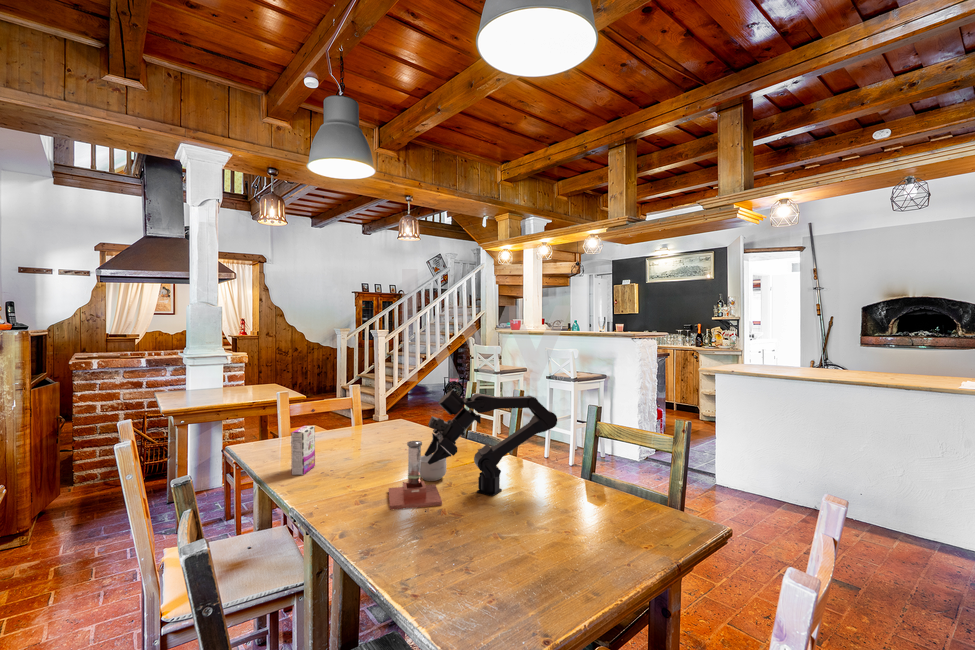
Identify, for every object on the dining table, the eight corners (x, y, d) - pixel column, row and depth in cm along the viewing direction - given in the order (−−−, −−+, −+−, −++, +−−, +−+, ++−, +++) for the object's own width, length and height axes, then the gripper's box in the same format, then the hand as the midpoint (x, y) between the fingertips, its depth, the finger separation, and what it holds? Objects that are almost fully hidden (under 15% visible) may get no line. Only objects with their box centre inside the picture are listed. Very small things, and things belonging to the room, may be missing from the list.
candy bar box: (303, 466, 182) (303, 425, 182) (315, 466, 182) (315, 425, 182) (290, 475, 170) (290, 431, 171) (303, 475, 170) (303, 432, 170)
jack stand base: (435, 487, 158) (435, 475, 158) (441, 505, 143) (442, 491, 143) (388, 491, 154) (388, 479, 154) (390, 509, 139) (390, 496, 139)
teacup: (432, 485, 160) (432, 463, 160) (410, 479, 167) (411, 457, 167) (457, 475, 171) (458, 454, 172) (437, 470, 178) (437, 449, 178)
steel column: (420, 479, 151) (421, 440, 151) (422, 484, 147) (422, 443, 147) (406, 480, 150) (406, 441, 150) (407, 485, 146) (407, 444, 146)
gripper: (438, 403, 160) (407, 436, 157) (447, 413, 142) (411, 451, 139) (460, 424, 162) (430, 457, 159) (471, 436, 144) (437, 474, 141)
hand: (426, 459), depth 150 cm, fingers open, 9 cm apart
